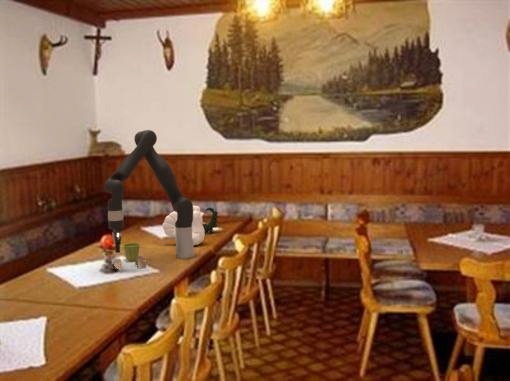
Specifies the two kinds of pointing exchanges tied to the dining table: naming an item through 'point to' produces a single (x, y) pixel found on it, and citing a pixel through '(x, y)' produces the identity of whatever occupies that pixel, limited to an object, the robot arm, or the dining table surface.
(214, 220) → the toy figurine
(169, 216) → the decorative rooster
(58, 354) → the dining table surface
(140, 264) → the walnut block
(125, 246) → the plant pot
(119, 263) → the slate-grey block
